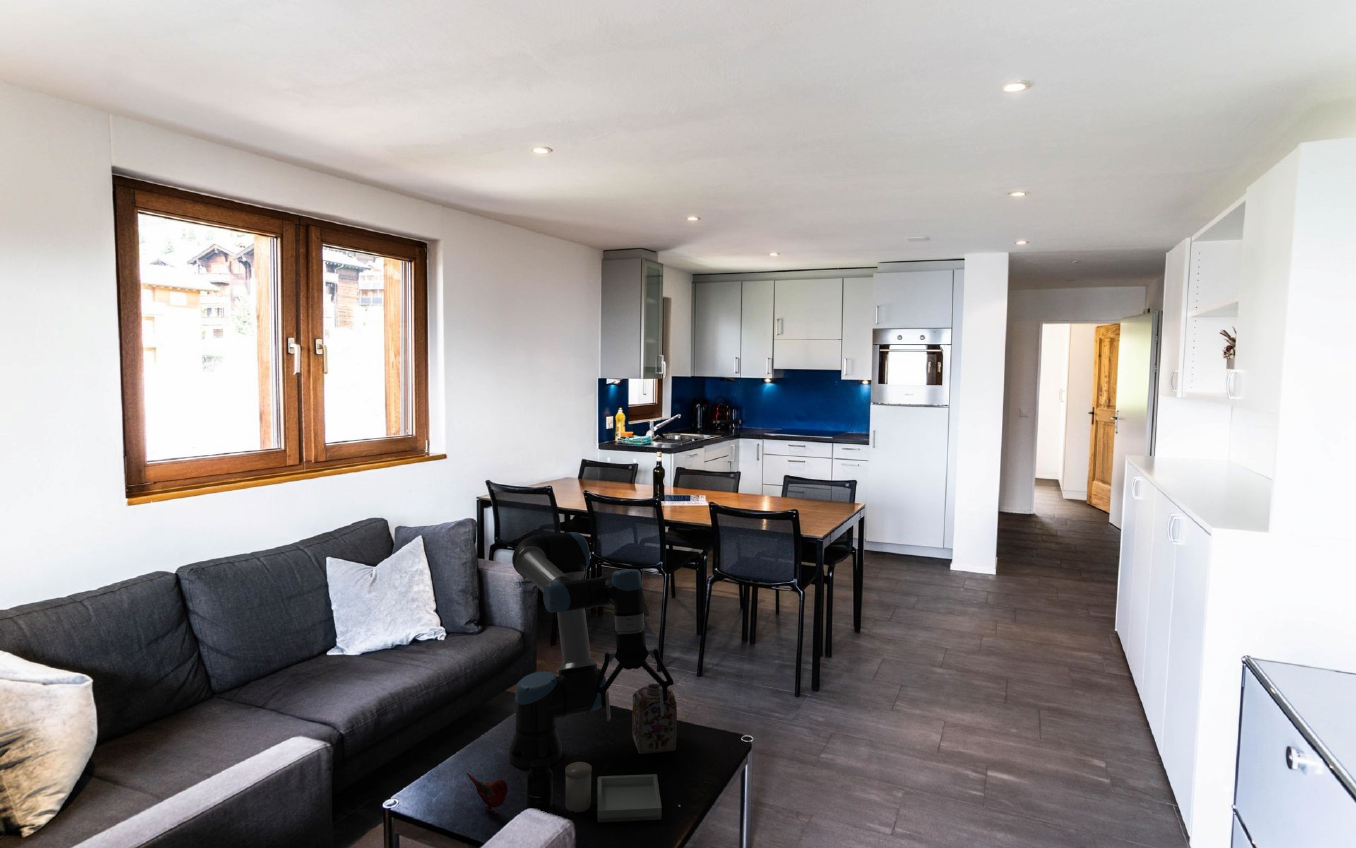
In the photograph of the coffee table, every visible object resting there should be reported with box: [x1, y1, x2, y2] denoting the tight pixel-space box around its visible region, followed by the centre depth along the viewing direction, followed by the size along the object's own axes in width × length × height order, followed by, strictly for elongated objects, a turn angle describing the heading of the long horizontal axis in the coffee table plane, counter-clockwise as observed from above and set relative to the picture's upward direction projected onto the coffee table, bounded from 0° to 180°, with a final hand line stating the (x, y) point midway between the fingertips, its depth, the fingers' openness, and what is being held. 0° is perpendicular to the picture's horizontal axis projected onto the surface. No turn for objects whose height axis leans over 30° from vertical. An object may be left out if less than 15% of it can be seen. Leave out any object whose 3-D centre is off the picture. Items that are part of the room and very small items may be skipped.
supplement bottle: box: [525, 757, 554, 812], centre depth 191 cm, size 7×7×12 cm
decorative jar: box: [631, 683, 678, 755], centre depth 225 cm, size 12×12×18 cm
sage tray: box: [597, 773, 663, 823], centre depth 193 cm, size 16×16×3 cm
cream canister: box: [564, 761, 593, 813], centre depth 192 cm, size 7×7×10 cm
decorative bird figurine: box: [466, 773, 509, 816], centre depth 189 cm, size 3×18×10 cm, turn 49°
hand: (635, 717), depth 187 cm, fingers open, 13 cm apart
